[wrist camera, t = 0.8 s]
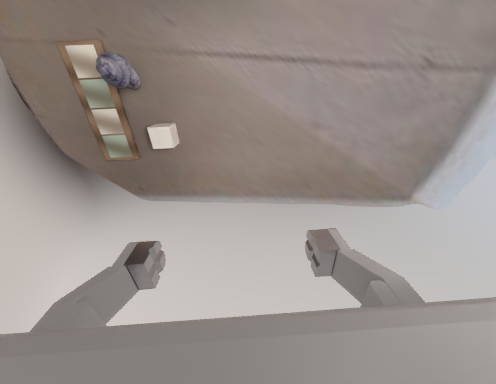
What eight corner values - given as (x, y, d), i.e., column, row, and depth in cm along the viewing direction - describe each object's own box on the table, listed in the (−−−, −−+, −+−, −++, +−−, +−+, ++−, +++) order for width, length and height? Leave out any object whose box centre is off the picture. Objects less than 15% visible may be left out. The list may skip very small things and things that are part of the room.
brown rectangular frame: (58, 42, 36) (55, 41, 35) (101, 40, 36) (99, 39, 35) (107, 159, 47) (106, 160, 47) (140, 158, 47) (139, 158, 47)
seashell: (115, 78, 39) (80, 76, 30) (122, 51, 37) (87, 40, 28) (141, 94, 41) (115, 96, 32) (150, 68, 38) (124, 64, 30)
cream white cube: (155, 123, 44) (147, 127, 40) (175, 122, 44) (168, 126, 40) (160, 143, 46) (153, 149, 42) (179, 142, 46) (173, 147, 42)
